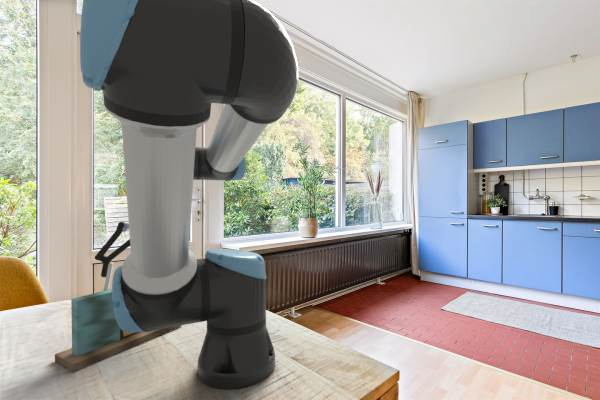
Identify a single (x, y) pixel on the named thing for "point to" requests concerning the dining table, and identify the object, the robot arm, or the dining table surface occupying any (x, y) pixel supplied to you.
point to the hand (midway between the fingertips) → (138, 292)
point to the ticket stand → (98, 332)
